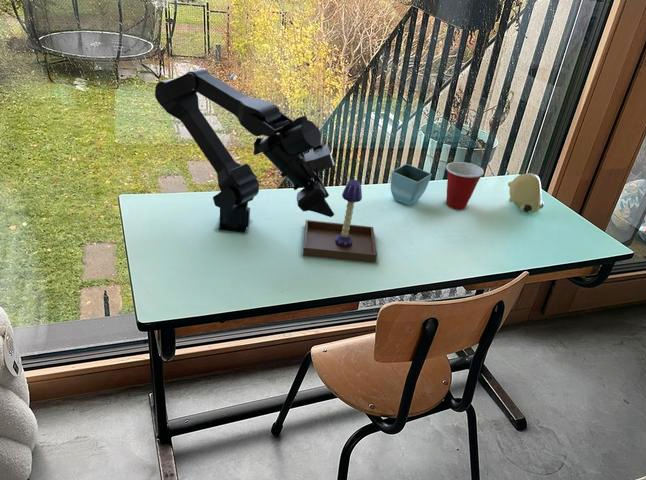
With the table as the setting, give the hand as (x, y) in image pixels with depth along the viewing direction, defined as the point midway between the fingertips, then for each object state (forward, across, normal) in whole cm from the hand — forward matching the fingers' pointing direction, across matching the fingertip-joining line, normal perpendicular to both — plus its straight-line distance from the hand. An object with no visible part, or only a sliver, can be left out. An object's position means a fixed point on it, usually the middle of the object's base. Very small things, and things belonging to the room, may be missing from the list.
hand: (330, 205), depth 132 cm
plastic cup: (+37, +24, -22) cm, 50 cm away
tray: (+10, 0, +5) cm, 11 cm away
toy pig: (+53, +25, -38) cm, 70 cm away
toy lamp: (+11, 0, +4) cm, 11 cm away
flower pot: (+27, +25, -12) cm, 38 cm away
